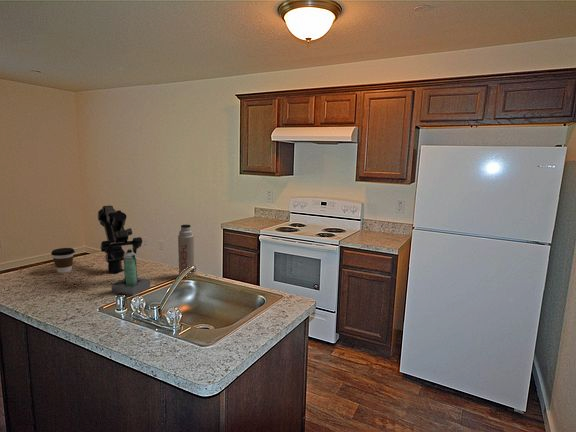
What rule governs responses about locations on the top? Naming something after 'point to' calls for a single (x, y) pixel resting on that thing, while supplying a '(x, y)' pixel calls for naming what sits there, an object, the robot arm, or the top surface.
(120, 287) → the collar
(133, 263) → the spray can
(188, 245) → the thermos bottle
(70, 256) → the coffee cup
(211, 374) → the top surface
